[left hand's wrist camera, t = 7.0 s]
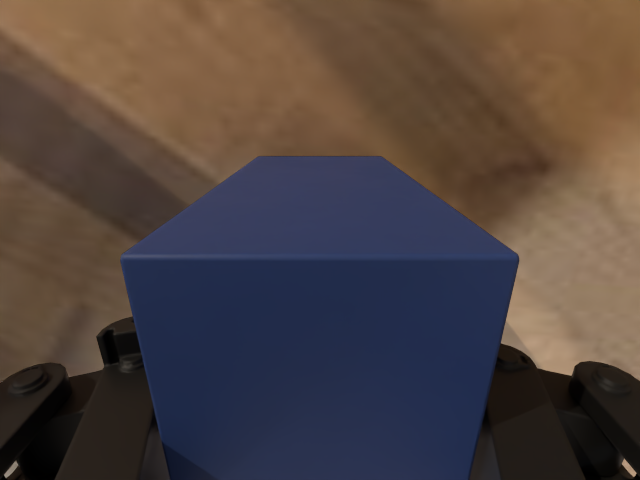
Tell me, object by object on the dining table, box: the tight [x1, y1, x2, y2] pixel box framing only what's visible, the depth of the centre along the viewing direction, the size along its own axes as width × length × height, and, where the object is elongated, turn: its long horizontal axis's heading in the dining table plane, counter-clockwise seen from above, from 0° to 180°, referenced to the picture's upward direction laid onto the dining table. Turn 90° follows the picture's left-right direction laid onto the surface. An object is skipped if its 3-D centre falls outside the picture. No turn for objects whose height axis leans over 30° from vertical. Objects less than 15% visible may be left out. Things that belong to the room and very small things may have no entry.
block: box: [120, 156, 519, 480], centre depth 11 cm, size 6×9×11 cm, turn 0°
